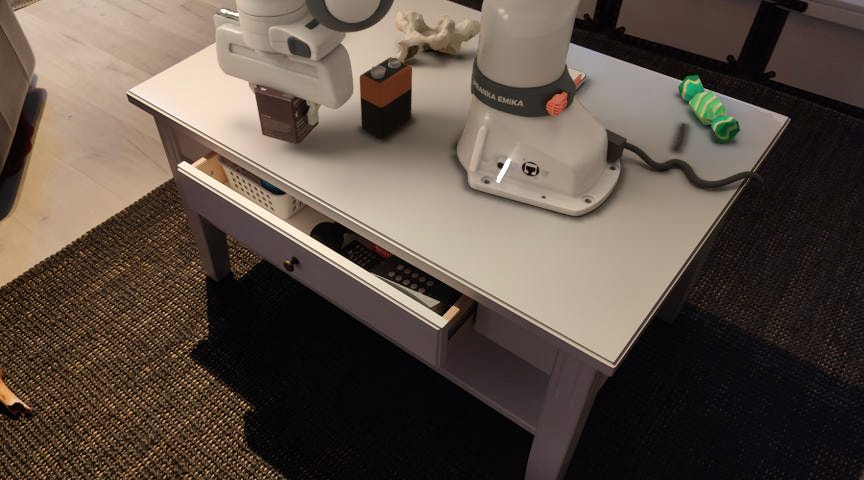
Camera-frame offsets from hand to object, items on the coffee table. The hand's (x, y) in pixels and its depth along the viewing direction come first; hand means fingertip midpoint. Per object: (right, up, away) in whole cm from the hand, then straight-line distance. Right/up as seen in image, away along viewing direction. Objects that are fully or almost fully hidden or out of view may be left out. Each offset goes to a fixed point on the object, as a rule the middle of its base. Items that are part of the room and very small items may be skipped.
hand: (289, 115), depth 99 cm
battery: (+14, 0, +6) cm, 15 cm away
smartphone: (+37, +9, +14) cm, 41 cm away
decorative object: (+20, +14, +19) cm, 31 cm away
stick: (+55, -2, +2) cm, 55 cm away
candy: (+58, +2, +4) cm, 59 cm away
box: (0, -2, +2) cm, 3 cm away
